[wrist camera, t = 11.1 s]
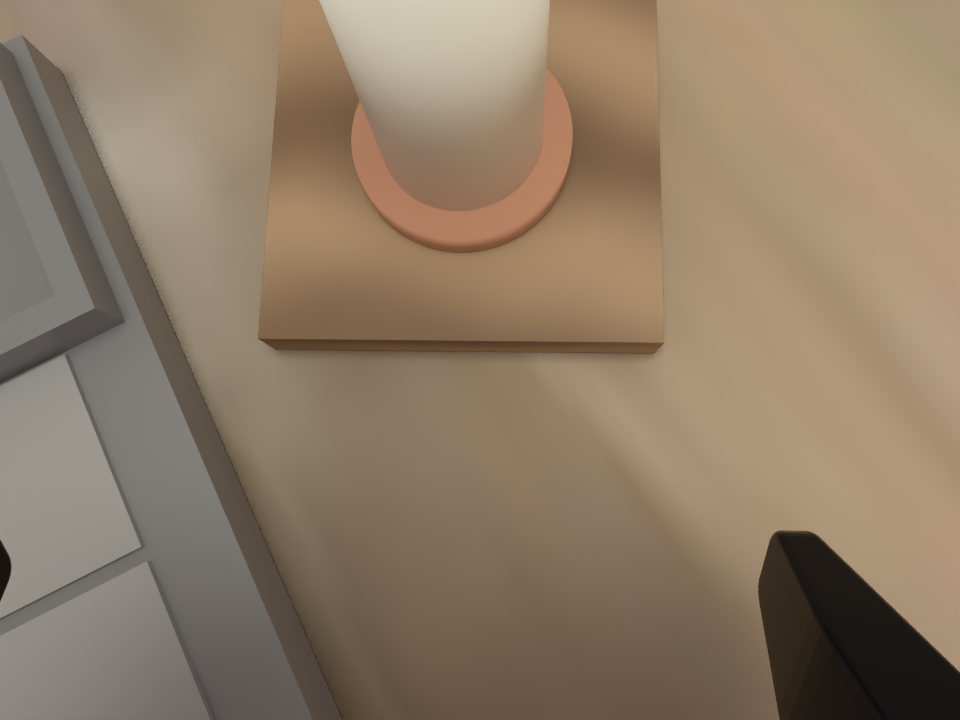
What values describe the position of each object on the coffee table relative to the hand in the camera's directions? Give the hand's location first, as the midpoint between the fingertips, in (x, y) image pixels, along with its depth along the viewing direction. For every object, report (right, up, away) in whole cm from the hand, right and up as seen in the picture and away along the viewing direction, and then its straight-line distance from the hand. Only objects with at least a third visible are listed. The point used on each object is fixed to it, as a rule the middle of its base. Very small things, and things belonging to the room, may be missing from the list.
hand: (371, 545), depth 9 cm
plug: (+1, +8, +13) cm, 15 cm away
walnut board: (+1, +8, +14) cm, 16 cm away
